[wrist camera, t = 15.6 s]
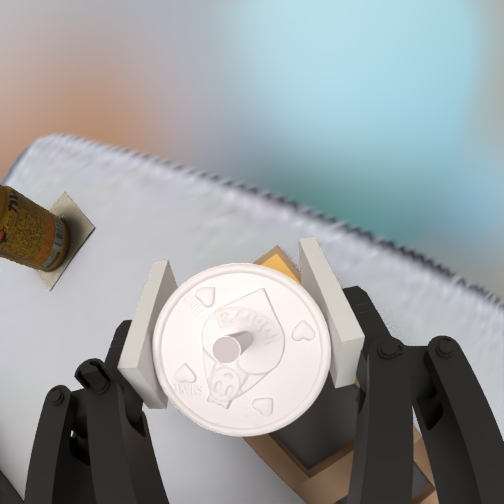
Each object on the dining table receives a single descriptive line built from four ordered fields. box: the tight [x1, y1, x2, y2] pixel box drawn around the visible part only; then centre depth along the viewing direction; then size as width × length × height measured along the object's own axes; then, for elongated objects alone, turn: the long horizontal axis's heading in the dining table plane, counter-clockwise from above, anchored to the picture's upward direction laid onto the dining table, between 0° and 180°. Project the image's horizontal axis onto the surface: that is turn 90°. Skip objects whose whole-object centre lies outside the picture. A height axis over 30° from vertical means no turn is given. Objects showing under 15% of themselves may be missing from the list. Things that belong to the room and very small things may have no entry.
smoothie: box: [152, 263, 331, 437], centre depth 12 cm, size 6×6×14 cm
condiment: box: [0, 185, 94, 291], centre depth 20 cm, size 7×8×12 cm
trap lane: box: [243, 245, 439, 504], centre depth 18 cm, size 11×32×2 cm, turn 37°
